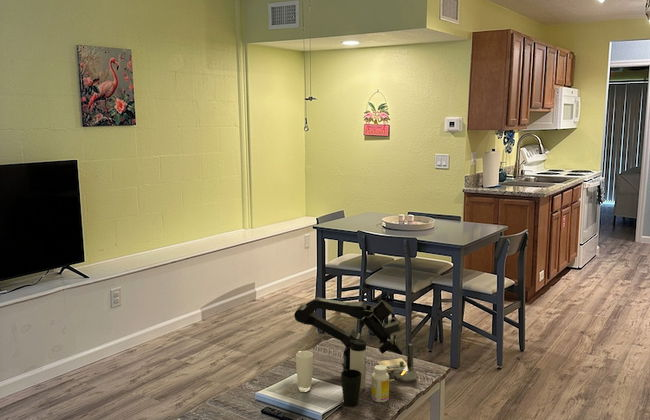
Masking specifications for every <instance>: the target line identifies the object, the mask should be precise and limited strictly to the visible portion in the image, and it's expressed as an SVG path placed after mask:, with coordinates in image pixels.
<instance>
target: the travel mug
mask: <svg viewBox="0 0 650 420" xmlns="http://www.w3.org/2000/svg"><path fill="white" fill-rule="evenodd" d="M350 343H351V344H350V369H353V370H357V371H359V372H361V374H362V375H361V384H360V392H363V391H365V390H366V378H367V377H366V375H367V342H366V341H363V340H361V339H352V340H351V341H350Z"/></svg>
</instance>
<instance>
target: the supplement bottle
mask: <svg viewBox="0 0 650 420" xmlns="http://www.w3.org/2000/svg"><path fill="white" fill-rule="evenodd" d="M373 370H374V371H373V372H372V374H371V391H370V392H371V394H370V396H371V399H372V401H374V402H376V403H385V402H387V401H388V400H389V398H390V381H389V380H390V375H389V374H390V373H387V372H386V371H387V367H386V366H384V365H377V364H376V365H375V366H374V369H373Z"/></svg>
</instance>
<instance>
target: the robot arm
mask: <svg viewBox="0 0 650 420" xmlns="http://www.w3.org/2000/svg"><path fill="white" fill-rule="evenodd" d="M318 309H320V310H326V311H332V312H337V313H343V314H346V315H348V316H349V317H351V318H354V319H356V320H357V319H358V321H359V328H360V327H362V326H363V325H364V326H365V327H366V328H367V329H368V330H369V331H370V332H371V333H372V335H371V336H373V337H376V338H377V339H378V340H379V341H378V343H379V348H378V350H379V352H380V353H381V354H382V355H383V354H385V352H387V351H391V352H393V353H395V354H399V355H402V354H403V350H402V349H401V347H400V345H399V343H398V341H397V334H394V335H393V333H396V332H397V333H398V332H400V331H401V330H402V329H401V328H402V326H401V324H400V322H401V321H399V319H396V318H395V317H392V318H390V322H388V323H385V322H382V321H385V320H386V319H387V318H388V317H389V316H390V315H392V313H394V308H393V307H392V306H391V305H390V304H389V303H388V302H386V301H384V300H383V299H381V300H380V301H379V302H378V303H377V304H376V305H371V304H366V303H365V302H364V301H349V302H347V301H341V300H334V299H328V298H324V297H320V296H317V297H314V298H313V299H312V300H310V301H308V302H307V303H305V304H301V305H299V306H298V307H297V308H296V310H295V312H294V313H293V314H294V319H295V321H296V322H298V323H300V324H304V325H307V326H313V327H315V328H317V329H318V330H320V331H322V332H323V333H325V334H328V335H329V336H331V337H333V338H334V339H336V340H338V341H340V342H341V343H342V345H344V346H345V347H344V349H343V362H342V363H341V365H342V366H343V367H344V369H345V370H348V369H350V344H351V343H350V341H351V340H352V339H361V340H363V341H364V337H363V336H362V335H361V333H359V332H357V331H355V330H354V329H351V331H346V330H344V329H343V328H340V327H339V326H337V325H335V324H333V323H331V322H330V321H328V320H327V319H324V318H322V317H321V316H319V315H318V314H317V313H316V312H315V311H317V310H318Z"/></svg>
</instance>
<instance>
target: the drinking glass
mask: <svg viewBox="0 0 650 420" xmlns="http://www.w3.org/2000/svg"><path fill="white" fill-rule="evenodd" d="M295 368H296V380H297V387H298V386H299V387H303V388H308V387H310V386H311V387H312V379H313V372H314V354H313V352H312V351H308V350H300V351H297V352H296V355H295Z"/></svg>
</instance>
